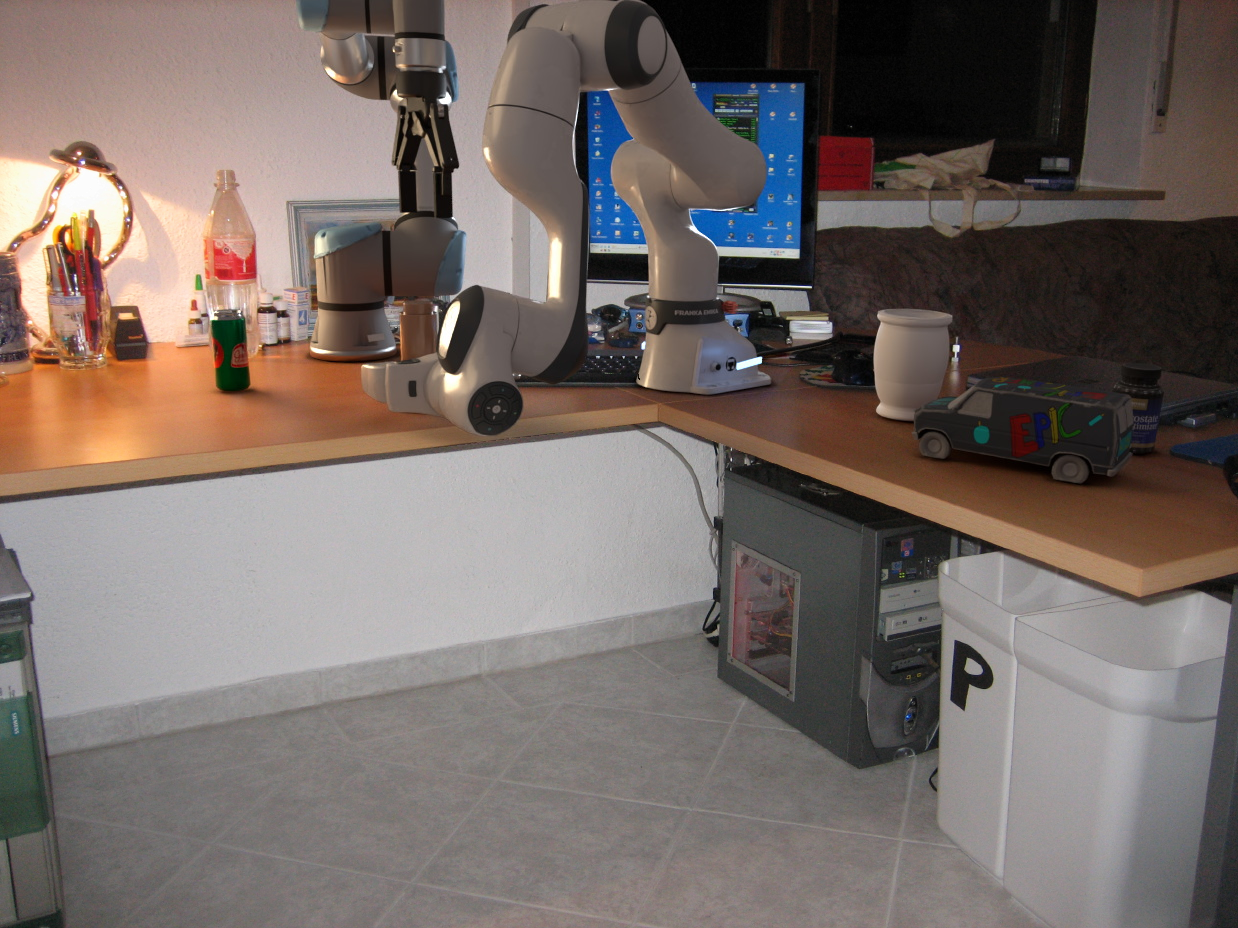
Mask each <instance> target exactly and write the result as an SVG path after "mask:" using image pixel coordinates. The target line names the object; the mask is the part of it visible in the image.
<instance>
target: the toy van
mask: <svg viewBox="0 0 1238 928" xmlns="http://www.w3.org/2000/svg"><path fill="white" fill-rule="evenodd" d="M1134 427H1135V426H1134V418H1133V410H1132V401H1131V396H1129V395H1127V394H1121V393H1115V392H1112V391H1108V390H1103V389H1102V390H1100V389H1094V388H1089V387H1081V386H1076V385H1068V384H1061V383H1054V382H1047V381H1042V380H1041V381H1040V380H1032V379H1026V378H1025V379H1024V378H1016V377H1015V378H1014V377H1003V376H989V377H985V378H982V379H981V380H979V381H977V382H976V383H975V384H974V385H972V386H971V387H970V388H969V389H967V390H966V391H964V392H963V393H962V394H960V395H959V396H950V395H946V396H942V397H939V398H937V399H936V400H934V401H931V402H929V403H926V404H924V405H923V406H921V407H919V408H918V409H916V410H915V414H914V421H913V431H912V432H911V435H912V438H913V440H914V441H918V449H919V450H918V451H919V452H920V453H921V455H922V456H925V457H931V458H937V459H942V460H945V459H947V458H948V457H949V456H950V455H951V452H952V449H953V450H958V451H963V452H969V453H974V454H979V455H984V456H990V457H991V456H992V457H997V458H1002V459H1008V460H1013V461H1017V462H1018V461H1019V462H1024V463H1028V464H1034V465H1039V466H1043V467H1044V466H1045V467H1051V466H1052V467H1051V476H1052V479H1053V480H1058V481H1062V482H1068V483H1074V484H1083V483H1084V482H1086V481H1087V480H1088V479H1089V475H1090V473H1091V472H1092V474H1095V475H1105V476H1107V477H1115V475H1116V474H1118V473H1119V472H1120V471H1121V470H1122V469H1123V468H1125V466H1126V464H1127V463H1129V462H1130V460H1131V458H1132V456H1133V455H1134V453H1131V452H1129V451H1130V448H1131V441H1132V436H1133V430H1134ZM1090 471H1091V472H1090Z"/></svg>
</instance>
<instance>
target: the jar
mask: <svg viewBox="0 0 1238 928" xmlns="http://www.w3.org/2000/svg"><path fill="white" fill-rule="evenodd" d="M877 319H878V321H880V325H879V327H878V329H877V334H876V337H875V342H874V347H873V372H874V384H875V385H874V386H875V391H876V395H877V398H878V399H879V401H880V402H879V404H877V405H878V406H877V407H876V409H875V412H876V413H877V415H879V416H881V417H884V418H887V419H889V420H890V419H891V420H896V421H903V422H914V414H915V410H916V409H918V408H919V407H921V406H923V405H924V404H926V403H929V402H931V401H934V400H936V399H939V396H940V393H941V391H942V388H943V384H944V378H945V377H946V376H945V375H946V373H947V369H948V364H949V360H950V359H949V357H950V334H949V327H948V326H949V325H951V324H952V323H953V315H952V314H950V313H947V312H943V311H936V310H929V309H918V308H888V309H880V310H878V311H877Z"/></svg>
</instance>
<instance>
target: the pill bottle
mask: <svg viewBox="0 0 1238 928" xmlns="http://www.w3.org/2000/svg"><path fill="white" fill-rule="evenodd" d="M1162 371H1163V367H1161V366H1158V365H1155V364H1149V363H1142V362H1141V363H1140V362H1126V363H1122V365H1121V369H1120V375H1121V380H1119V381H1116V382H1115V383H1114V384H1113V385H1112V388H1111V392H1115V393H1121V394H1127V395H1129V396H1131V401H1132V410H1133V418H1134V426H1135V427H1134V430H1133V436H1132V441H1131V448H1130V451H1129V452H1131V453H1133V454H1140V455H1141V454H1148V453H1151V452H1153V451H1154V450H1155V448H1156V440H1157V435H1158V428H1159V424H1160V419H1161V418H1160V417H1161V412H1162V407H1163V399H1164V395H1165V391H1164V389H1163V387H1162V386H1161V385H1159V383H1158V381H1159V380H1160V379H1161V377H1162Z"/></svg>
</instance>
